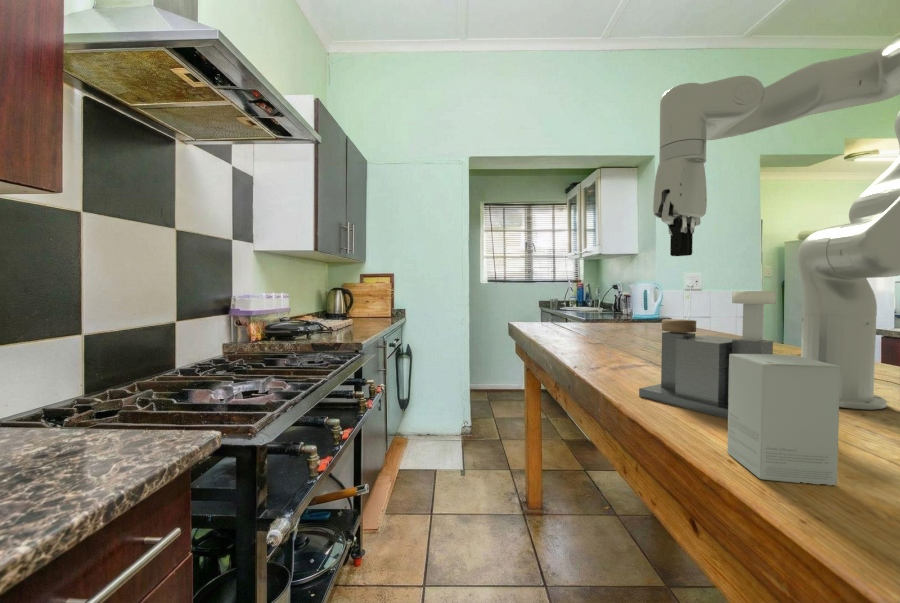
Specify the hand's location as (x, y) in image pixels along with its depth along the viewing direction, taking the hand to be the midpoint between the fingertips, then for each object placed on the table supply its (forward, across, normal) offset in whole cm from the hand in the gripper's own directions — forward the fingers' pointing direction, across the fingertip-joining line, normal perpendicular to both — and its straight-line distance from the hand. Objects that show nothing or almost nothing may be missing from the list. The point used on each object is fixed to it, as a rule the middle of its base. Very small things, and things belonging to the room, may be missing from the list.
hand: (681, 255), depth 74 cm
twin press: (+27, 0, +6) cm, 27 cm away
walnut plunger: (+24, 0, 0) cm, 24 cm away
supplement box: (+27, +20, +23) cm, 41 cm away
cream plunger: (+19, 0, +12) cm, 22 cm away
